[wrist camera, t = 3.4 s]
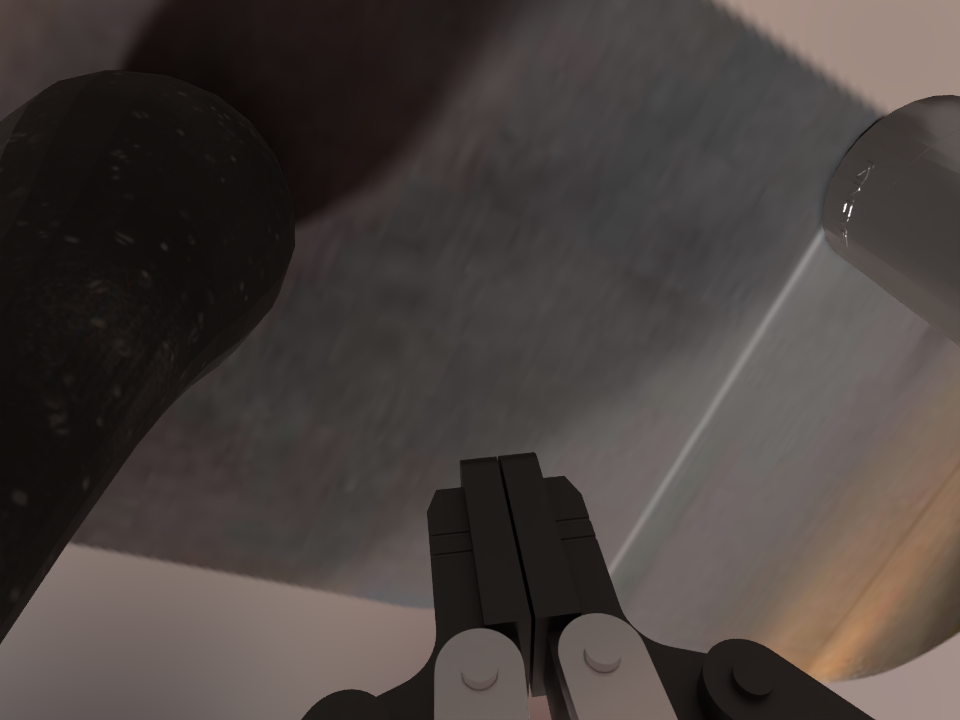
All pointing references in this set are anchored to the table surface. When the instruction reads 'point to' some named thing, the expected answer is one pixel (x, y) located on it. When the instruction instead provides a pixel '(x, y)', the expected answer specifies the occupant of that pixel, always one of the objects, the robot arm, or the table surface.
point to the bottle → (118, 286)
